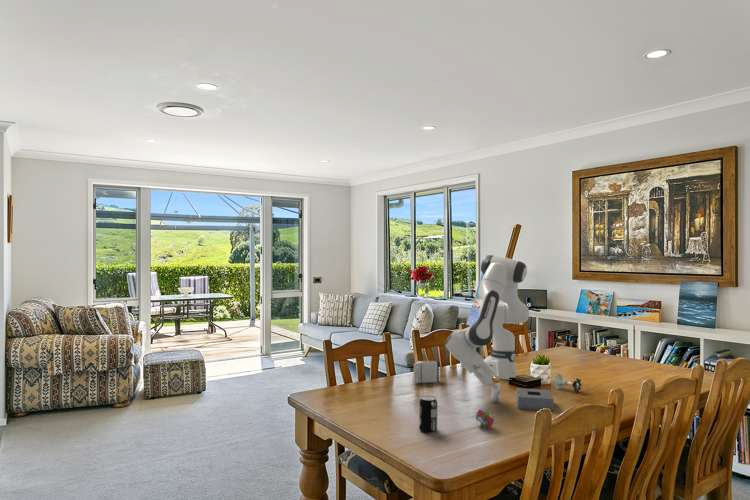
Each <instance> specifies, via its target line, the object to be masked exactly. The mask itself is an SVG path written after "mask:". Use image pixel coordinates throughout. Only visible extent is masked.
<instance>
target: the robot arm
mask: <svg viewBox="0 0 750 500" xmlns="http://www.w3.org/2000/svg"><path fill="white" fill-rule="evenodd" d="M527 269H528V268H527V265H526V263H524V262H522V261H520V260H519V261H518V260H515V259H513V258H510V257H509V258H508V257H503V256H498V255H497V256H495V255H493V254H491V255H490V254H489V255H486V256H484V257H483V259H482V260H481V263H480V272H481V273H482V274H483V276H482V279H481V281H480V284H479V288H478V296H479V298H480V300H481V301H482V304H481V306H480V307H479V309H478V318H477V320H476V321H475V322H474V323H473V324H472V325H470V326H468V327H466V328H463V329H461V330H455V331H452V332H450V334H449V335H448V336H447V338H446V340H445V342H444V346H445V348H446V349H447V350H448V352H449V353H450V354H451V355H452V356H453V358H454V359H456V360H457V361H459V362H460V364H461V366H462V367H463V368H464V369H465V370H466V372H468V373H469V374H472V373H473V374H474V375H475V377H476V378H477V379H478V380H479V382H481V384H482V385H483V386H484V387H485V388H487V387H488V388H489V386H490V388H491V387H493V388H494V389H495V390H497V389H498V386H497V385H496V384H495V383H494V382H493V381H492V376H498V377H500V380H510V379H509V378H510V377H515V376H518V374H517V369H516V349H515V344H516V343H515V342H516V341H515V335H514V333H513V332H512V331H510V330H508V329H506V328H504V326H503V325H504V324H513V325H514V324H523V323H526V322H527V321H528V319H529V317H530V310H529V307H528V306H527V305H526V304H525V303H524V302H522V301H521V299H520V298H519V295H518V291H519V290H518V287H519V284H521V283H523V281H525V279H526V277H527V275H528V274H527V273H528V271H527ZM491 341H492V349H489V350H488V353H490V354H489V355H488V356H487V357H486V358H483V357H482V356H481V354H479V352H477V350H476V349H478V348H479V347H484V346H487V345H489V344H490V343H491Z"/></svg>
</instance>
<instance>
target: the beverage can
mask: <svg viewBox="0 0 750 500" xmlns="http://www.w3.org/2000/svg"><path fill="white" fill-rule="evenodd" d="M418 404H419V409H418V410H419V411H418V412H419V415H418V417H419V418H418V419H419V420H418V423H419V425H418V426H419V427H418V428H419V430H420V432H422V433H426V434H433V433H435V432H436V431H437V430H438V400H437V397H436V396H433V395H429V394H428V395H427V394H426V395H421V396H420V400H419V402H418Z"/></svg>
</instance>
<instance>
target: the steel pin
mask: <svg viewBox="0 0 750 500" xmlns="http://www.w3.org/2000/svg"><path fill="white" fill-rule="evenodd" d="M492 381H493V382H494V383H495V384H496V385H497V386H498V389H497V390H495V389H494V388H493V387H491V386H490V388H491V393H490V395H491V397H490V403H492V404H494V405H495V404H498V405H499V404H500V401H501V392H500V390H501V379H500V377H498V376H492Z"/></svg>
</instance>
